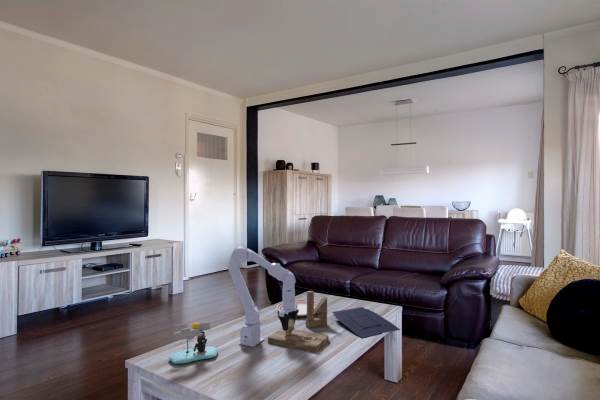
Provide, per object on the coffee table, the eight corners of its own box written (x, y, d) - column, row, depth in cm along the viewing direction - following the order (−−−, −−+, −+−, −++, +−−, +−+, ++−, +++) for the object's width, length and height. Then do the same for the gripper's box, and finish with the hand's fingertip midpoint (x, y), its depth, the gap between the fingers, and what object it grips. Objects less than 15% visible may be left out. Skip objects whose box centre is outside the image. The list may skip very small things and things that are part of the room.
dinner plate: (305, 323, 198) (305, 316, 198) (266, 313, 214) (266, 307, 214) (333, 310, 220) (333, 304, 219) (296, 302, 236) (296, 296, 236)
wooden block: (327, 325, 193) (327, 290, 193) (308, 328, 189) (308, 292, 189) (324, 323, 197) (324, 289, 196) (305, 326, 192) (305, 291, 192)
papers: (364, 311, 213) (365, 305, 213) (400, 334, 187) (401, 328, 186) (328, 317, 203) (328, 310, 202) (360, 343, 176) (361, 336, 176)
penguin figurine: (216, 349, 164) (216, 314, 163) (221, 359, 154) (221, 322, 154) (168, 357, 156) (167, 320, 156) (169, 367, 146) (169, 329, 146)
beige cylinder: (291, 337, 170) (291, 323, 170) (281, 335, 173) (281, 321, 173) (296, 333, 175) (296, 319, 175) (286, 331, 177) (286, 318, 177)
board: (316, 352, 160) (316, 346, 160) (267, 342, 171) (267, 337, 171) (328, 340, 173) (328, 335, 173) (282, 332, 183) (282, 327, 183)
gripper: (289, 303, 165) (289, 334, 166) (303, 295, 178) (303, 324, 179) (275, 301, 168) (275, 331, 169) (290, 293, 181) (290, 321, 182)
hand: (288, 327), depth 174 cm, fingers open, 6 cm apart
